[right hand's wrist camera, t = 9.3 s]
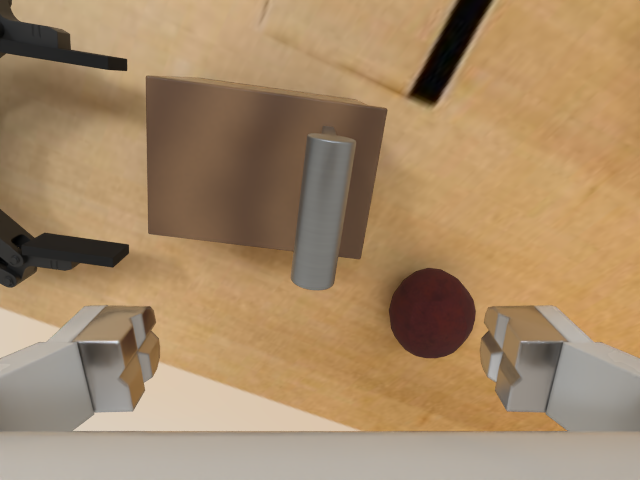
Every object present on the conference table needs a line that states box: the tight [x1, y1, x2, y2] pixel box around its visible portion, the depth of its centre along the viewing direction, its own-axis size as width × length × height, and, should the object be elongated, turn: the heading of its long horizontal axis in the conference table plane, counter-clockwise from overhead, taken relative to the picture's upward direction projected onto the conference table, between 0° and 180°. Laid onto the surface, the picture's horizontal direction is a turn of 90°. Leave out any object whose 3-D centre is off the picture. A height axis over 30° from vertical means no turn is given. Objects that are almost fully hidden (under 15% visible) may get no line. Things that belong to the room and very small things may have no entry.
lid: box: [146, 76, 387, 290], centre depth 22 cm, size 14×10×8 cm
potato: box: [389, 268, 476, 358], centre depth 36 cm, size 7×8×7 cm
